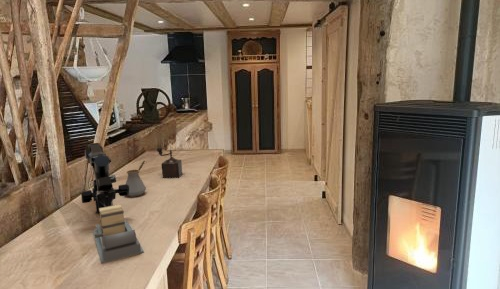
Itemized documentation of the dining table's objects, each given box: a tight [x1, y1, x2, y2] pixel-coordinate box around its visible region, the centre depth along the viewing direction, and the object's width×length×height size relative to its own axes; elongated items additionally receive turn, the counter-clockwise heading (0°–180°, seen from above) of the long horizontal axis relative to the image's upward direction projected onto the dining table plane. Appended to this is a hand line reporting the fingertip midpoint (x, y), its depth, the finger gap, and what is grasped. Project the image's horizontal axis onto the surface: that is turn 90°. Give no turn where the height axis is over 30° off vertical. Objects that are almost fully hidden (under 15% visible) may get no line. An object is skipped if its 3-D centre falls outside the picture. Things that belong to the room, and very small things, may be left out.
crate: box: [98, 203, 125, 236], centre depth 140 cm, size 7×8×10 cm
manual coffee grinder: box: [156, 146, 183, 179], centre depth 221 cm, size 16×11×18 cm
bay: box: [92, 217, 144, 264], centre depth 133 cm, size 29×15×10 cm, turn 29°
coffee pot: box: [125, 160, 148, 198], centre depth 193 cm, size 21×12×15 cm, turn 173°
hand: (109, 211), depth 147 cm, fingers closed
